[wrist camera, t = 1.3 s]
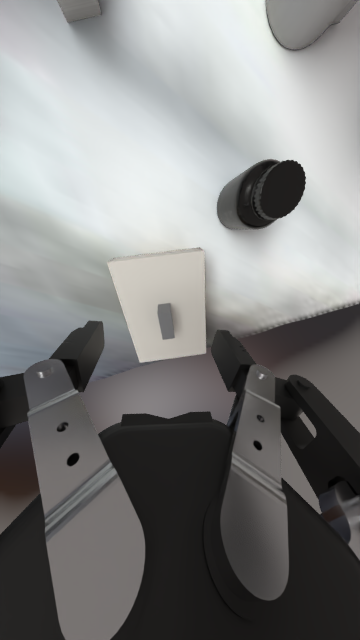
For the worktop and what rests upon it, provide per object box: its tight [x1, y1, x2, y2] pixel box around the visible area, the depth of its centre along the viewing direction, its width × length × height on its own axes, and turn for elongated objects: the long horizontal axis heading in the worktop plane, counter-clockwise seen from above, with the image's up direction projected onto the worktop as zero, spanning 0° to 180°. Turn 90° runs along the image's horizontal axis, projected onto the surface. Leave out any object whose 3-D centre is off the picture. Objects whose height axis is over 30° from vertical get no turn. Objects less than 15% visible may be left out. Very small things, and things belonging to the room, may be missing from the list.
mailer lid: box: [107, 248, 206, 363], centre depth 27 cm, size 14×20×6 cm
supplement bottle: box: [217, 159, 306, 229], centre depth 21 cm, size 7×7×12 cm
